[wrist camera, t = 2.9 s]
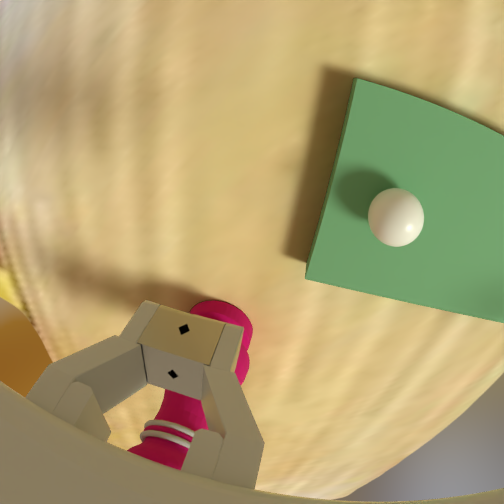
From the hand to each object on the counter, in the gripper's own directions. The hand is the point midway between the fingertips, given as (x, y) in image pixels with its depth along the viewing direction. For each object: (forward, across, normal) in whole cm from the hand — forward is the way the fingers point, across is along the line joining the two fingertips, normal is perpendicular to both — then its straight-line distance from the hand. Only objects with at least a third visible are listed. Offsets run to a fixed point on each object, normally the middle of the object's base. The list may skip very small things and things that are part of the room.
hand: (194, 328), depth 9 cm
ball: (+11, -8, -1) cm, 14 cm away
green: (+15, -18, -1) cm, 23 cm away
